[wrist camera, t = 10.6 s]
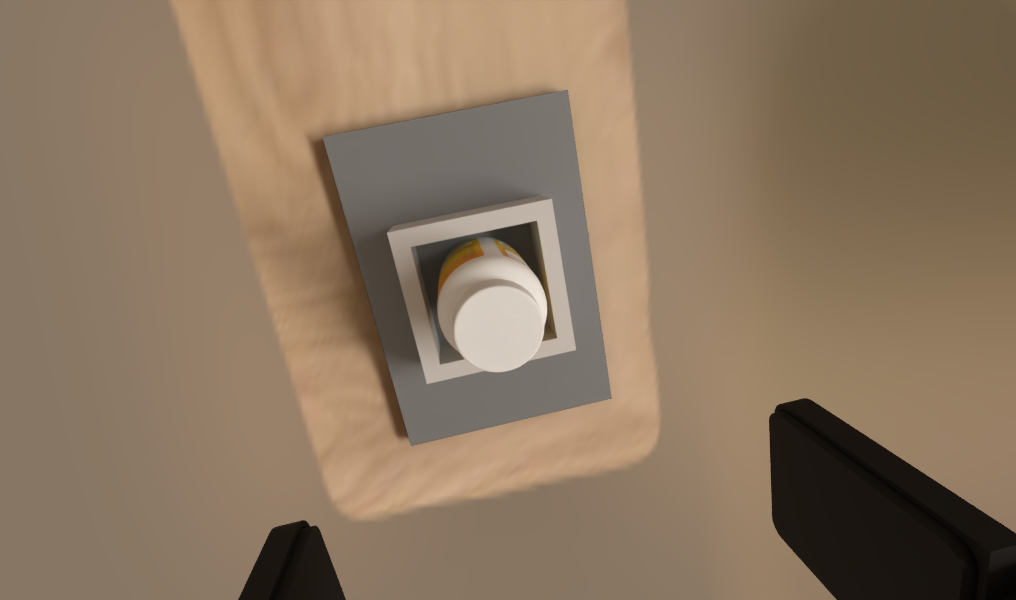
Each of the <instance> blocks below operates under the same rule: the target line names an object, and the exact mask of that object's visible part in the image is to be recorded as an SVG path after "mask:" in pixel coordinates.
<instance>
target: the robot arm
mask: <svg viewBox="0 0 1016 600" xmlns="http://www.w3.org/2000/svg"><path fill="white" fill-rule="evenodd" d="M769 431H770V462H771V492H772V518H773V523H774V526H775V528H776V530H777V532H778V534H779V535H780V536H781V538H782V539H783V540H784V541H785V542H786V543H787V545H788V546H789V547H790V548H791V549H792V550H793V551H794V552H795V553H796V555H797V556H798V557H799V558H800V559H801V560H802V561H803V562H804V564H805V565H806V566H807V567H808V568H809V569H810V570H811V571H812V572H813V574H814V575H815V576H816V577H817V578H818V579H819V580H820V581H821V582H822V584H823V585H824V586H825V587H826V588H827V589H828V590H829V591H830V593H831V594H832V595H833V596H834V597H835V598H836V599H837V600H1016V533H1014V532H1013V531H1011V530H1010V529H1008V528H1007V527H1005V526H1004V525H1002V524H1001V523H999V522H998V521H996V520H994V519H993V518H991V517H990V516H988V515H987V514H985V513H984V512H982V511H981V510H979V509H978V508H976V507H975V506H973V505H971V504H970V503H968V502H967V501H965V500H964V499H962V498H961V497H959V496H958V495H956V494H955V493H953V492H952V491H950V490H948V489H947V488H945V487H944V486H942V485H941V484H939V483H938V482H936V481H934V480H933V479H932V478H930V477H928V476H927V475H925V474H924V473H922V472H921V471H919V470H918V469H916V468H915V467H913V466H912V465H910V464H908V463H907V462H905V461H904V460H902V459H901V458H899V457H898V456H896V455H895V454H893V453H892V452H890V451H889V450H887V449H886V448H884V447H882V446H881V445H879V444H877V443H876V442H875V441H873V440H872V439H870V438H869V437H867V436H866V435H864V434H863V433H861V432H859V431H858V430H856V429H855V428H853V427H852V426H850V425H849V424H847V423H846V422H844V421H843V420H841V419H840V418H838V417H836V416H835V415H833V414H832V413H830V412H829V411H827V410H826V409H824V408H822V407H821V406H820V405H818V404H816V403H815V402H813V401H812V400H810V399H805V398H803V399H799V400H795V401H791V402H787V403H783V404H779V405H778V406H777V407H776V409H775V413H773V414H771V416H770V418H769ZM238 600H346V599H345V596H344V594H343V591H342V588H341V586H340V583H339V580H338V578H337V575H336V572H335V570H334V567H333V564H332V562H331V559H330V556H329V554H328V551H327V548H326V546H325V543H324V540H323V538H322V535H321V532H320V530H319V528H318V527H317V526H311V527H310V526H309V524H308V523H307V522H306V521H303V520H302V521H299V522H295V523H290V524H286V525H282V526H278V527H275V528H273V529H272V530H271V532H270V533H269V536H268V538H267V540H266V542H265V544H264V546H263V548H262V550H261V553H260V555H259V557H258V559H257V561H256V563H255V566H254V567H253V570H252V572H251V574H250V576H249V578H248V580H247V582H246V584H245V587H244V589H243V591H242V593H241V595H240V597H239V599H238Z"/></svg>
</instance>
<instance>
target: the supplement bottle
mask: <svg viewBox="0 0 1016 600" xmlns="http://www.w3.org/2000/svg"><path fill="white" fill-rule="evenodd" d="M437 312H438V319H439V324H440V327H441V330H442V332H443V334H444V336H445V338H446V339H447V341H448V342H449V343H450V345H451V346H452V347H453V348H454V349H455V350H457V351H458V352H459V353H460V354H461V355H462V357H463V358H464V359H465V360H466V361H467V362H469V363H470V364H471V365H473V366H475V367H476V368H478V369H481V370H484V371H488V372H505V371H510V370H513V369H516V368H518V367H520V366H522V365H523V364H525V363H526V362H527V361H529V360H530V359H531V358H532V357H533V356H534V354H535V353H536V352H537V350H538V349H539V347H540V345H541V342H542V339H543V335H544V326H545V322H546V318H547V301H546V296H545V293H544V290H543V288H542V285H541V283H540V281H539V280H538V278H537V277H536V275H535V274H534V273H533V271H532V270H531V269H530V268H529V267H528V265H527V264H526V263H525V262H524V260H523V259H522V258H521V257H520V255H519V254H518V253H517V252H516V251H515V250H514V249H513V248H512V247H510V246H509V245H508V244H506V243H504V242H503V241H500V240H498V239H494V238H489V237H478V238H473V239H469V240H467V241H464V242H462V243H461V244H459V245H457V246H456V247H455V248H454V249H453V250H451V252H450V253H449V254H448V255H447V257H446V258H445V260H444V262H443V264H442V267H441V270H440V274H439V284H438V299H437Z"/></svg>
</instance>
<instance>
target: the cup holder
mask: <svg viewBox="0 0 1016 600" xmlns="http://www.w3.org/2000/svg"><path fill="white" fill-rule="evenodd" d="M323 141H324V144H325V148H326V151H327V155H328V158H329V162H330V165H331V169H332V172H333V176H334V179H335V183H336V186H337V190H338V193H339V197H340V200H341V204H342V207H343V211H344V214H345V218H346V221H347V225H348V228H349V231H350V235H351V238H352V242H353V245H354V249H355V252H356V256H357V259H358V263H359V266H360V270H361V273H362V277H363V280H364V284H365V287H366V291H367V294H368V298H369V301H370V305H371V308H372V312H373V315H374V319H375V322H376V326H377V329H378V333H379V336H380V340H381V343H382V347H383V350H384V353H385V357H386V360H387V364H388V367H389V371H390V374H391V378H392V381H393V385H394V388H395V392H396V395H397V399H398V402H399V406H400V409H401V413H402V416H403V420H404V423H405V427H406V430H407V434H408V437H409V441H410V444H411V446H413V445H417V444H422V443H426V442H430V441H434V440H439V439H443V438H447V437H451V436H455V435H460V434H464V433H468V432H472V431H477V430H481V429H485V428H489V427H493V426H498V425H502V424H506V423H510V422H515V421H519V420H523V419H527V418H531V417H536V416H540V415H544V414H548V413H552V412H557V411H561V410H565V409H569V408H574V407H578V406H582V405H586V404H590V403H595V402H599V401H603V400H607V399H612V398H611V391H610V384H609V377H608V370H607V363H606V356H605V349H604V342H603V335H602V327H601V320H600V313H599V306H598V299H597V292H596V285H595V278H594V271H593V264H592V257H591V250H590V243H589V236H588V229H587V222H586V215H585V208H584V201H583V194H582V187H581V180H580V173H579V165H578V158H577V151H576V144H575V137H574V130H573V123H572V116H571V109H570V102H569V95H568V90H564V91H559V92H554V93H549V94H544V95H538V96H533V97H528V98H523V99H518V100H512V101H507V102H502V103H497V104H491V105H486V106H481V107H476V108H471V109H465V110H460V111H455V112H450V113H445V114H439V115H434V116H429V117H424V118H419V119H413V120H408V121H403V122H398V123H392V124H387V125H382V126H377V127H372V128H366V129H361V130H356V131H351V132H346V133H340V134H335V135H330V136H325V137H323ZM478 237H489V238H494V239H498V240H500V241H503V242H504V243H506V244H508V245H509V246H510V247H512V248H513V249H514V250H515V251H516V252H517V253H518V254H519V255H520V257H521V258H522V259H523V260H524V262H525V263H526V264H527V265H528V267H529V268H530V269H531V270H532V271H533V273H534V274H535V275H536V277H537V278H538V280H539V281H540V283H541V285H542V288H543V290H544V293H545V296H546V301H547V318H546V322H545V326H544V335H543V339H542V342H541V345H540V347H539V349H538V350H537V352H536V353H535V354H534V356H533V357H532V358H531V359H530V360H529V361H527V362H526V363H525V364H523V365H522V366H520V367H518V368H516V369H513V370H510V371H505V372H488V371H484V370H481V369H478V368H476V367H475V366H473V365H471V364H470V363H469V362H467V361H466V360H465V359H464V358H463V357H462V355H461V354H460V353H459V352H458V351H457V350H455V349H454V348H453V347H452V346H451V345H450V343H449V342H448V341H447V339H446V338H445V336H444V334H443V332H442V330H441V327H440V324H439V319H438V312H437V299H438V284H439V274H440V270H441V267H442V264H443V262H444V260H445V258H446V257H447V255H448V254H449V253H450V252H451V250H453V249H454V248H455V247H456V246H457V245H459V244H461V243H462V242H464V241H467V240H469V239H473V238H478Z"/></svg>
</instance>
